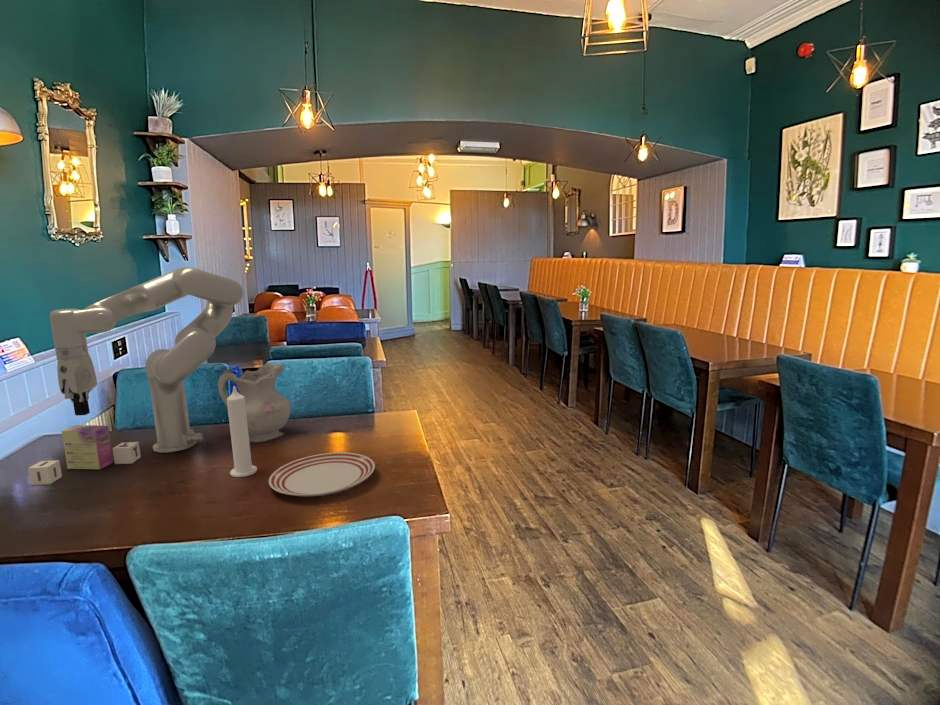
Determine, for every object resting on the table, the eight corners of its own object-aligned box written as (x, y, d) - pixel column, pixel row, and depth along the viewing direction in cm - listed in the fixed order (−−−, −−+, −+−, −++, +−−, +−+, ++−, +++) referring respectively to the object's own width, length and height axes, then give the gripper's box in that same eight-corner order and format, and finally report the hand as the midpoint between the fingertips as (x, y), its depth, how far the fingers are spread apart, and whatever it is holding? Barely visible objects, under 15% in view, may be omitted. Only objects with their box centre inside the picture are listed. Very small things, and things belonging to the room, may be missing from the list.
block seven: (141, 457, 170) (139, 441, 169) (132, 463, 165) (130, 447, 164) (124, 458, 170) (121, 442, 169) (114, 464, 165) (112, 447, 164)
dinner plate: (278, 515, 130) (277, 502, 130) (262, 474, 154) (261, 463, 154) (389, 489, 143) (389, 477, 142) (359, 455, 167) (358, 445, 166)
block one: (62, 477, 157) (59, 459, 156) (50, 484, 152) (47, 466, 151) (43, 477, 156) (40, 460, 156) (30, 485, 151) (27, 467, 150)
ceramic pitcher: (248, 455, 172) (244, 378, 166) (210, 441, 182) (205, 367, 176) (303, 435, 190) (301, 364, 184) (265, 423, 200) (262, 355, 194)
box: (114, 462, 167) (108, 424, 164) (100, 470, 161) (93, 431, 159) (82, 462, 168) (76, 424, 165) (67, 469, 162) (60, 430, 160)
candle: (262, 468, 158) (253, 383, 154) (245, 478, 152) (235, 390, 147) (242, 466, 161) (233, 382, 156) (224, 475, 154) (214, 388, 149)
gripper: (68, 357, 151) (79, 421, 154) (101, 347, 165) (110, 406, 169) (40, 358, 150) (51, 423, 154) (75, 348, 165) (85, 407, 168)
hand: (82, 414), depth 161 cm, fingers closed
